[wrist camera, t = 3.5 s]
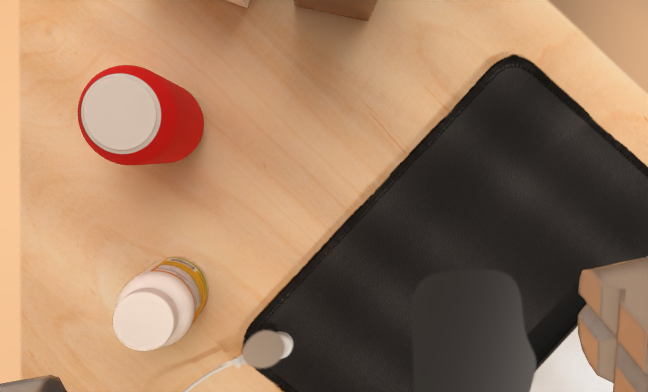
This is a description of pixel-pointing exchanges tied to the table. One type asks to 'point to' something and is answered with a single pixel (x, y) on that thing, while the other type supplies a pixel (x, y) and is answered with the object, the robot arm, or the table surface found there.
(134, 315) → the supplement bottle
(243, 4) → the small box
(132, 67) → the beverage can
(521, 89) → the table surface
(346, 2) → the walnut stand
